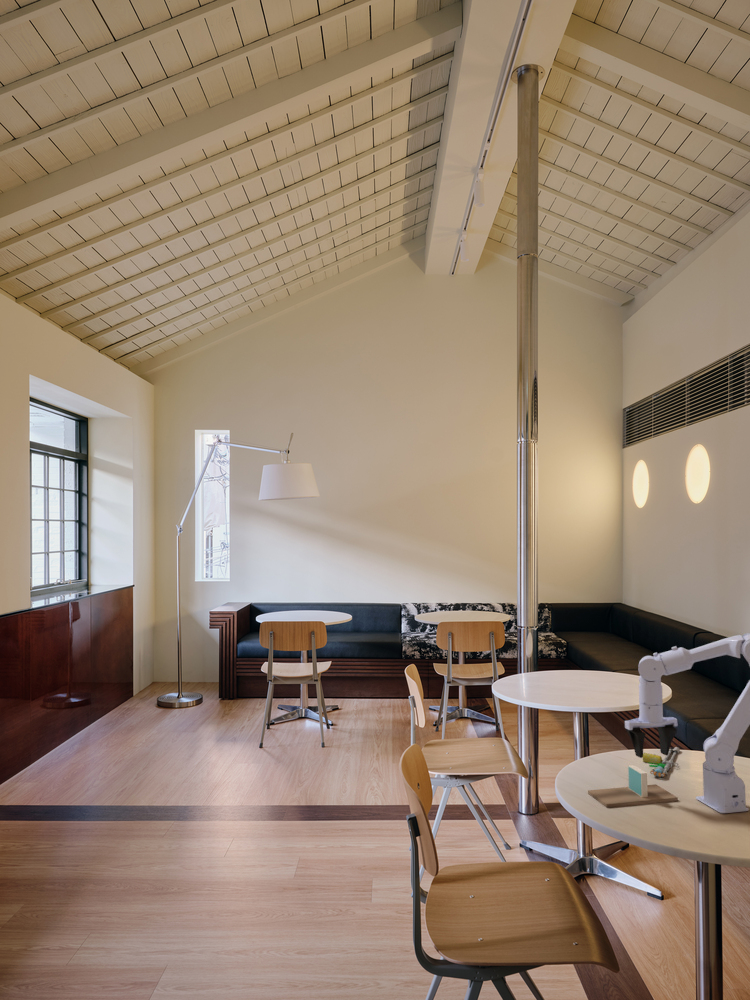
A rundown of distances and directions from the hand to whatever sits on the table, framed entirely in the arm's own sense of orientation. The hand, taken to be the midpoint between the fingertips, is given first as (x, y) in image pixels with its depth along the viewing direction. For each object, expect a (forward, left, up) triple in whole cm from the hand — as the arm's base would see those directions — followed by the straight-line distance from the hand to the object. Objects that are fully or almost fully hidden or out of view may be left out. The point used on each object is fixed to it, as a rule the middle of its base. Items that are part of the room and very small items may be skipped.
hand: (651, 755), depth 173 cm
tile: (0, +4, -9) cm, 10 cm away
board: (0, +6, -10) cm, 12 cm away
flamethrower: (+21, -17, -11) cm, 29 cm away
